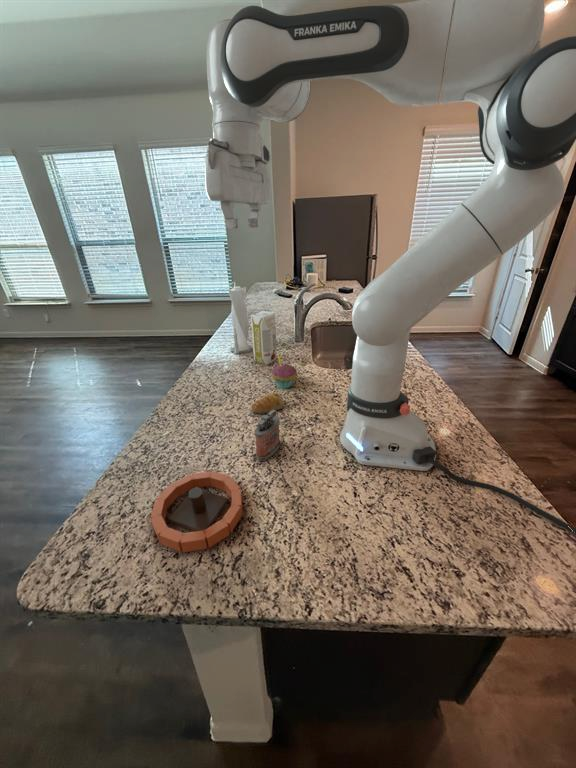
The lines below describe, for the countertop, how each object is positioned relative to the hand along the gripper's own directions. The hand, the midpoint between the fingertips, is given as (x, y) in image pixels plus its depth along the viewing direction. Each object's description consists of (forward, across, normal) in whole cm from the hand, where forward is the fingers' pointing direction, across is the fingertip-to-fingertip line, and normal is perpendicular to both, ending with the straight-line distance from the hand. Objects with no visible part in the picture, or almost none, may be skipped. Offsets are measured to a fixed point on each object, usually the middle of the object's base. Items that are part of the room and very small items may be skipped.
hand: (243, 228), depth 66 cm
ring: (+48, -33, -4) cm, 58 cm away
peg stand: (+48, -33, -4) cm, 58 cm away
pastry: (+48, +6, -1) cm, 49 cm away
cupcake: (+48, +21, 0) cm, 53 cm away
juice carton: (+48, +38, +15) cm, 63 cm away
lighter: (+48, -12, -9) cm, 50 cm away
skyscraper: (+48, +46, +30) cm, 73 cm away
